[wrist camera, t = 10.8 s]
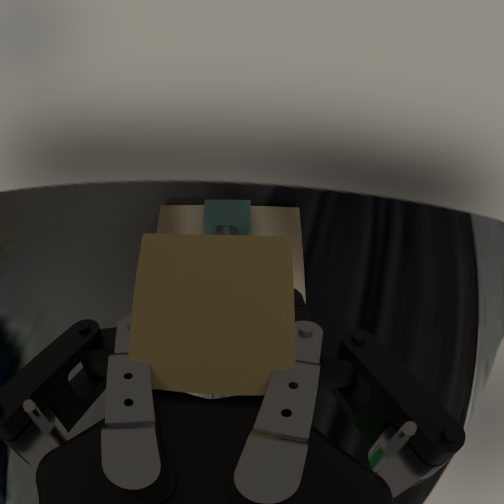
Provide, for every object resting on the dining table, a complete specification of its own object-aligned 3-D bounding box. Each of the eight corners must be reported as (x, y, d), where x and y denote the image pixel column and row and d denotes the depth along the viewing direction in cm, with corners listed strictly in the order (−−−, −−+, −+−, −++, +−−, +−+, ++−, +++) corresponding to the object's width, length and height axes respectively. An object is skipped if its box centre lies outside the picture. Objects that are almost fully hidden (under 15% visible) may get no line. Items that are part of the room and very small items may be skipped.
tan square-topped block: (189, 373, 15) (127, 384, 6) (192, 303, 17) (143, 233, 8) (262, 376, 16) (295, 394, 6) (262, 305, 17) (291, 236, 8)
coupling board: (151, 456, 19) (135, 472, 15) (164, 212, 28) (153, 188, 24) (302, 461, 19) (314, 478, 15) (296, 214, 29) (305, 190, 25)
